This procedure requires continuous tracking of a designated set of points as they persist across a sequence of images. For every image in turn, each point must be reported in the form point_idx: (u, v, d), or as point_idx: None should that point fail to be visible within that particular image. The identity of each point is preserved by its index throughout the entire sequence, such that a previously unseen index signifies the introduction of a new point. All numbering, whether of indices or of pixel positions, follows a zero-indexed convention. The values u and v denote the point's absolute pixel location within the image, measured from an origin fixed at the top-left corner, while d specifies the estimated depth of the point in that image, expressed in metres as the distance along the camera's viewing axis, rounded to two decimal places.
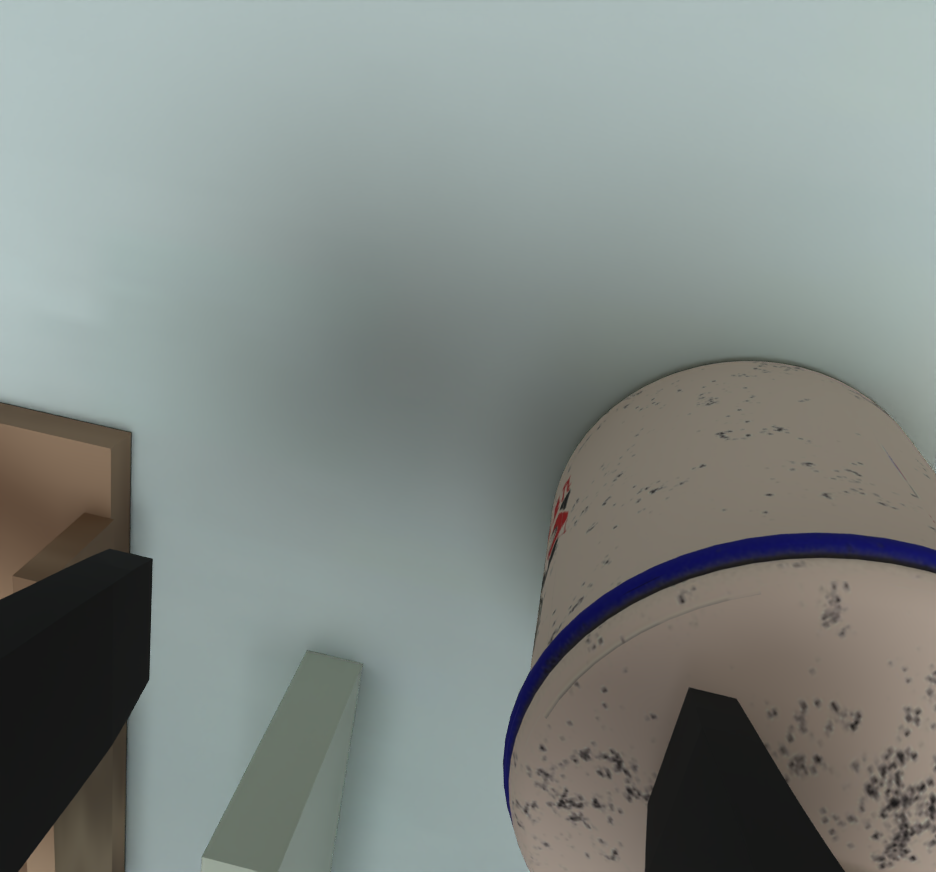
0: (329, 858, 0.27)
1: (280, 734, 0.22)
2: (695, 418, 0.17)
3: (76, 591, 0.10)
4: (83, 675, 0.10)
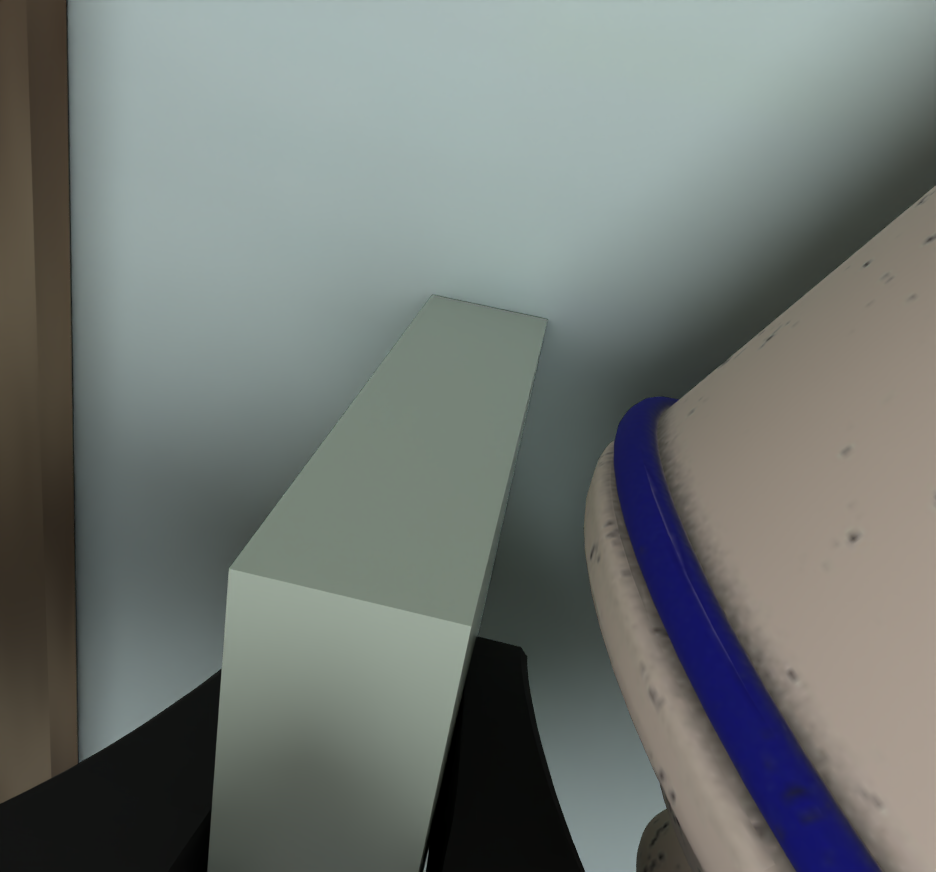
0: None
1: (407, 382, 0.09)
2: None
3: None
4: None
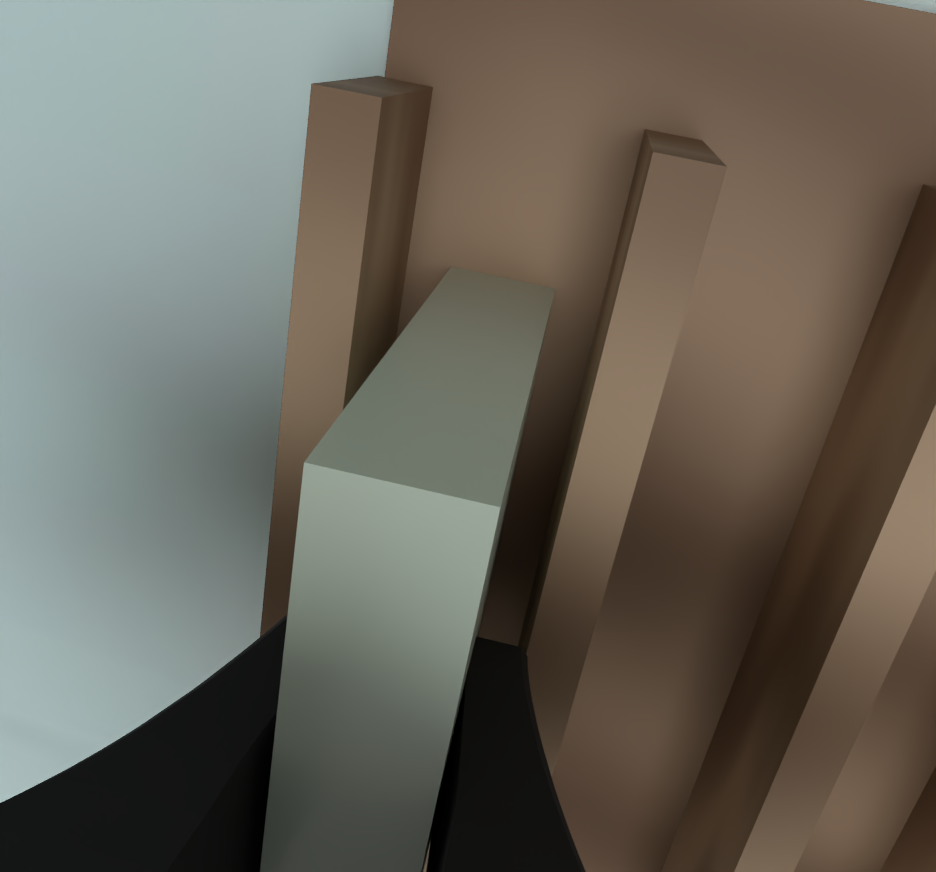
0: None
1: (435, 335, 0.10)
2: None
3: None
4: None
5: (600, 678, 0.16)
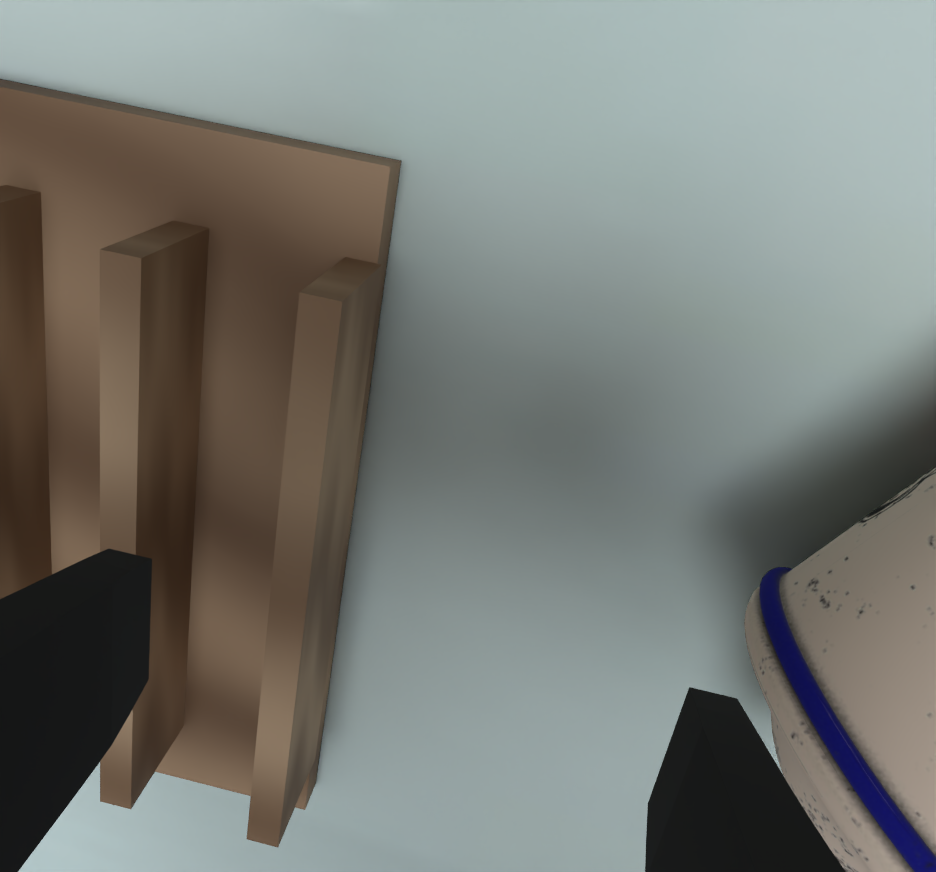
0: None
1: None
2: None
3: (75, 591, 0.10)
4: (82, 675, 0.10)
5: (79, 557, 0.23)
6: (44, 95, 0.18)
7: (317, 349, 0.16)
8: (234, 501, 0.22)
